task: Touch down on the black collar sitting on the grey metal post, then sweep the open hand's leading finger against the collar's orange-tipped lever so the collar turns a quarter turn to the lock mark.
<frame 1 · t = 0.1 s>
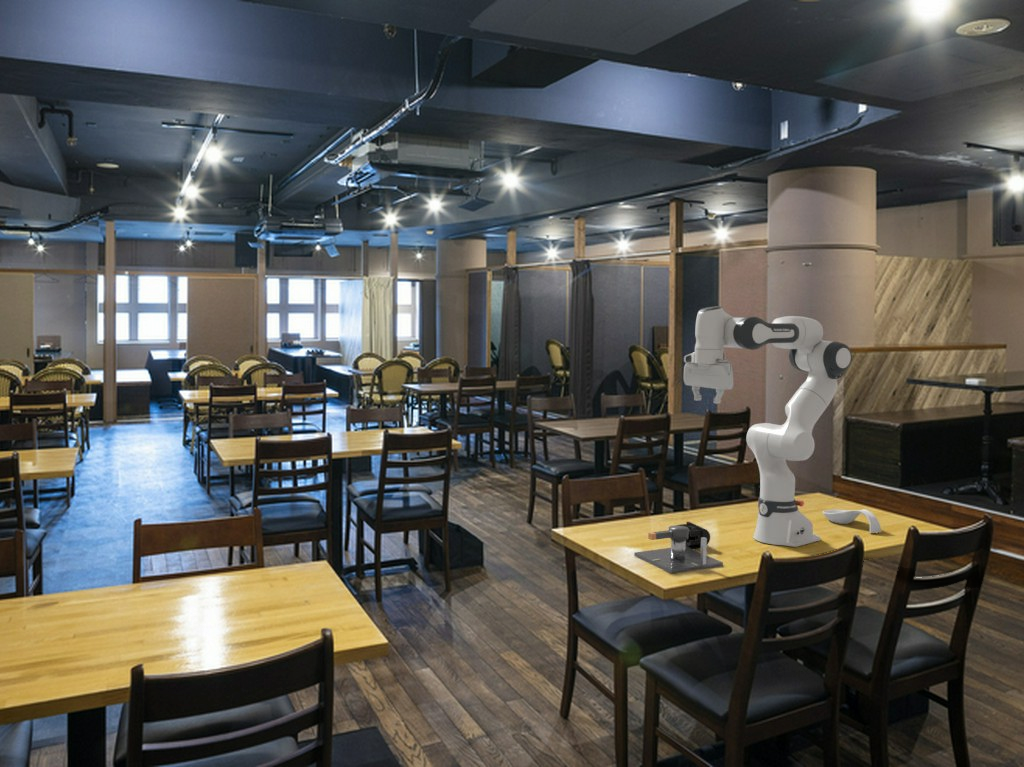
hand: (707, 401, 253), 48 cm above the table, fingers open, 8 cm apart
spoon rest: (851, 526, 291), on the table
end cap: (692, 546, 263), on the table
mount base: (677, 560, 246), on the table
collar: (668, 534, 243), point 9 cm above the table, hinge at 0.0°
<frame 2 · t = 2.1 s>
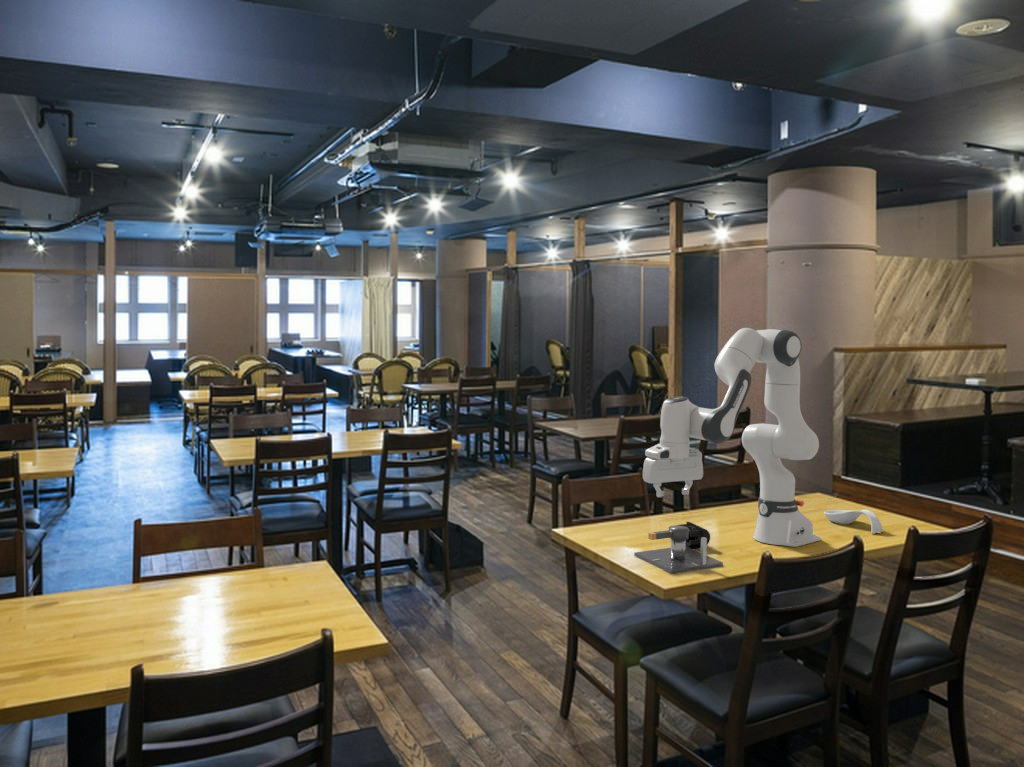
hand: (672, 495, 243), 20 cm above the table, fingers open, 8 cm apart
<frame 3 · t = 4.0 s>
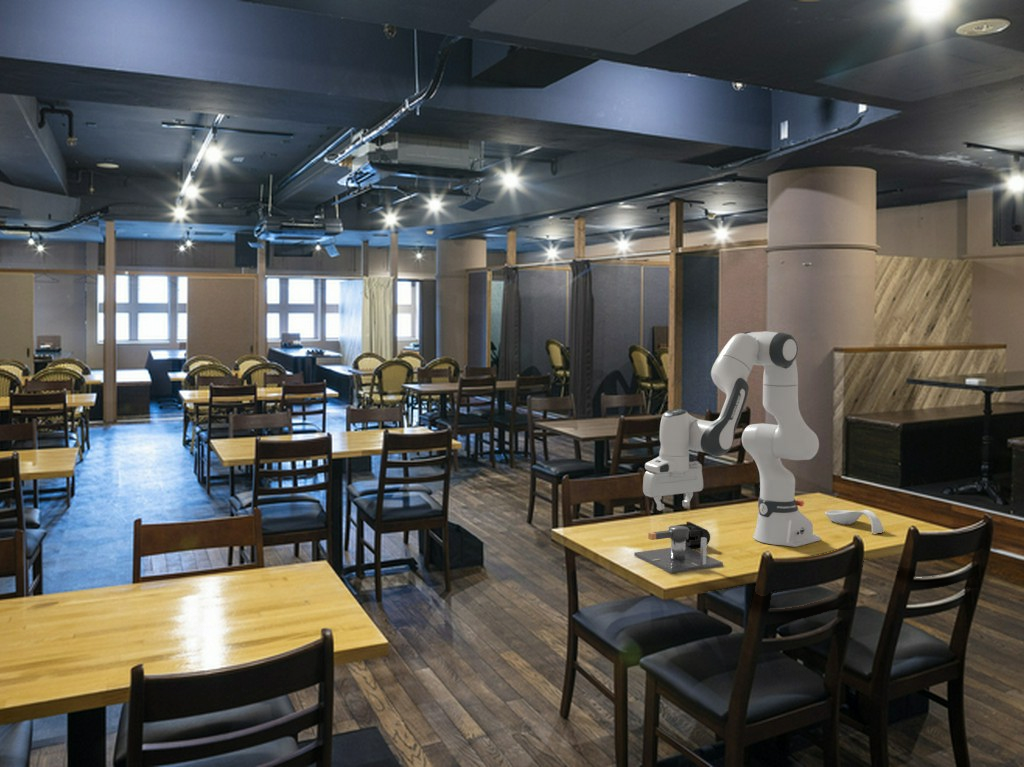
hand: (673, 508, 244), 17 cm above the table, fingers open, 8 cm apart
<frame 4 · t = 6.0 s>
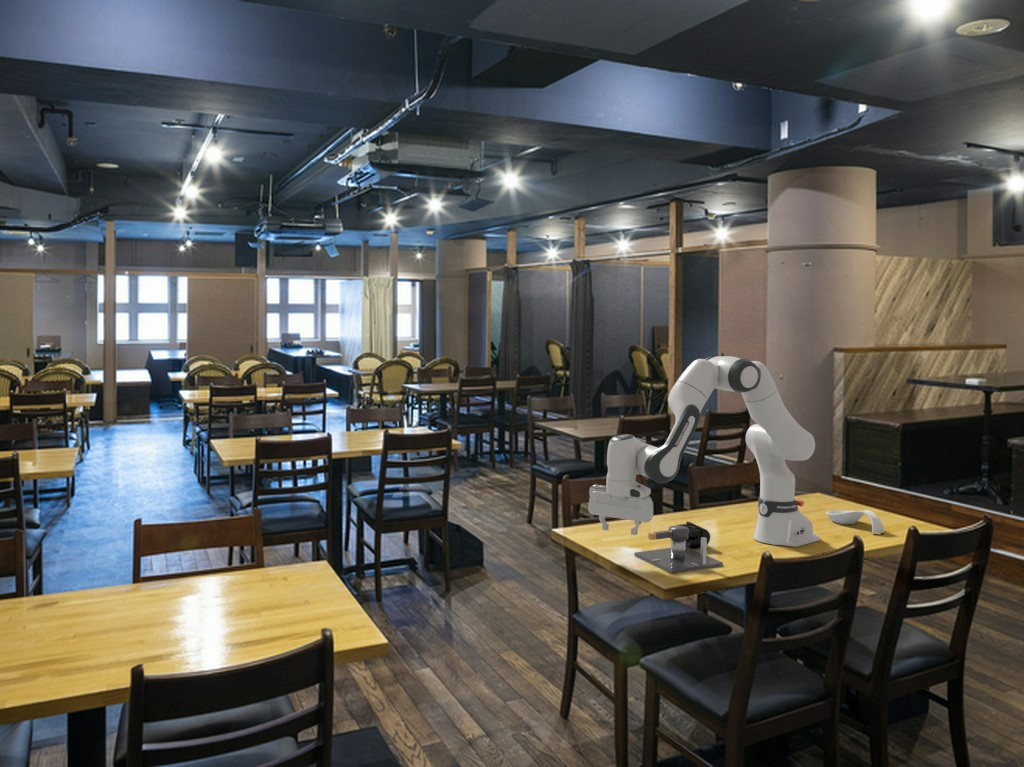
hand: (619, 532, 246), 8 cm above the table, fingers open, 8 cm apart
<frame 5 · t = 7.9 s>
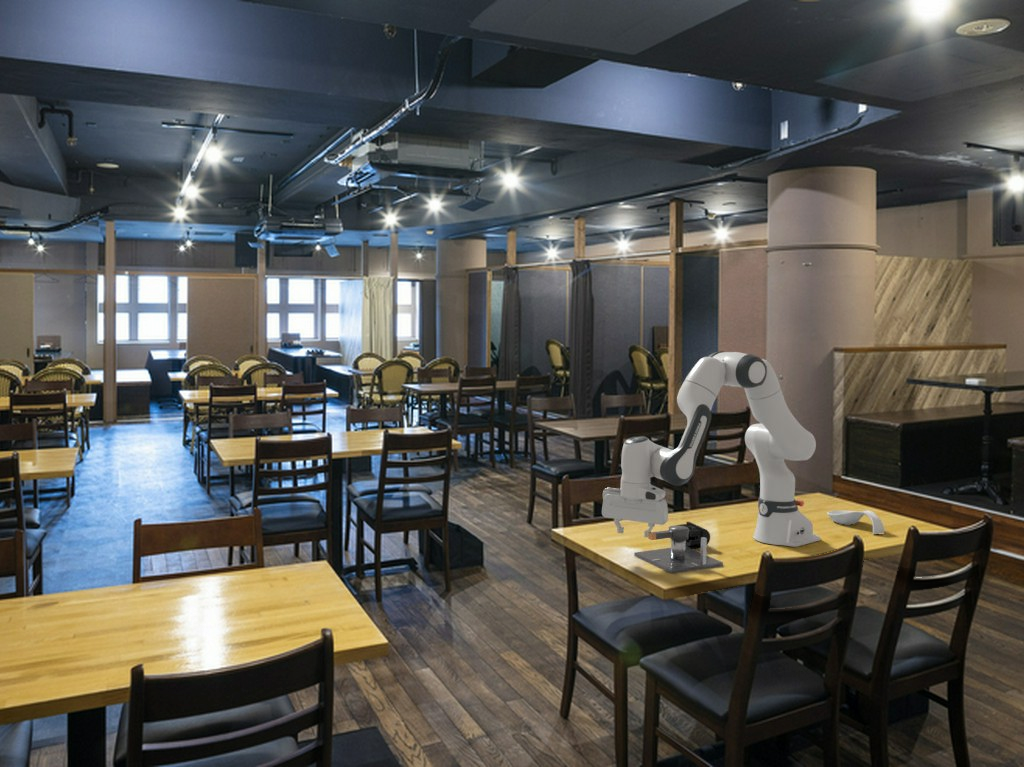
hand: (633, 534, 244), 8 cm above the table, fingers open, 7 cm apart
collar: (668, 534, 243), point 9 cm above the table, hinge at 0.2°, touching gripper
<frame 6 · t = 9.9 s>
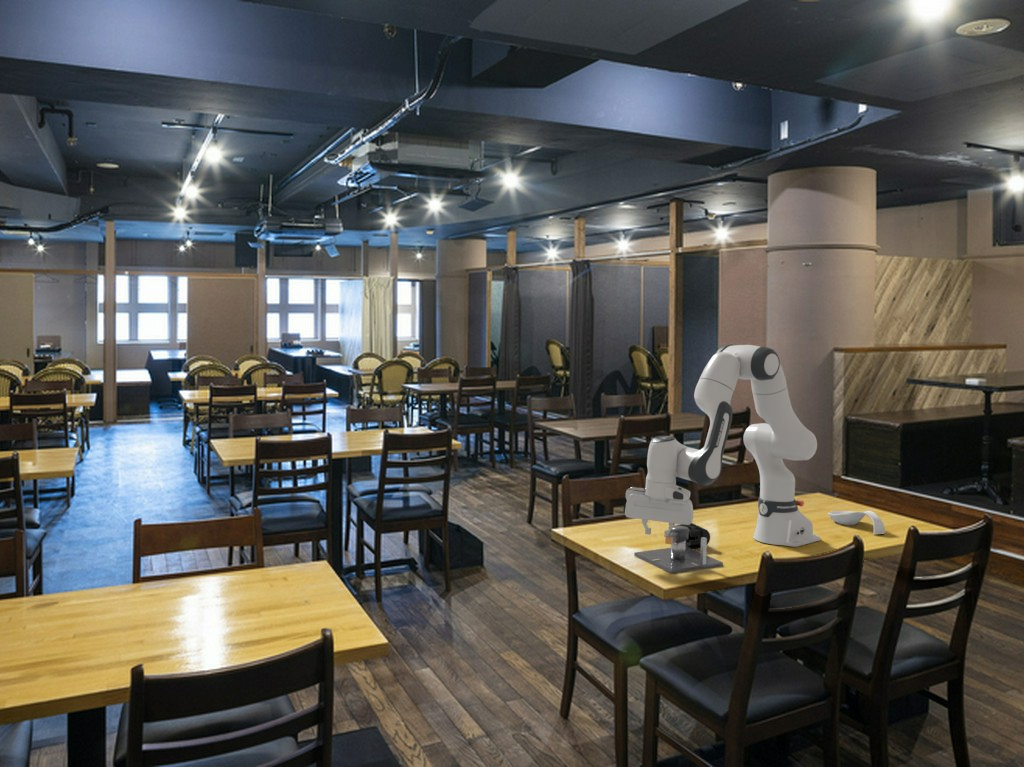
hand: (657, 535, 241), 9 cm above the table, fingers open, 4 cm apart
collar: (675, 535, 242), point 9 cm above the table, hinge at 36.8°, touching gripper
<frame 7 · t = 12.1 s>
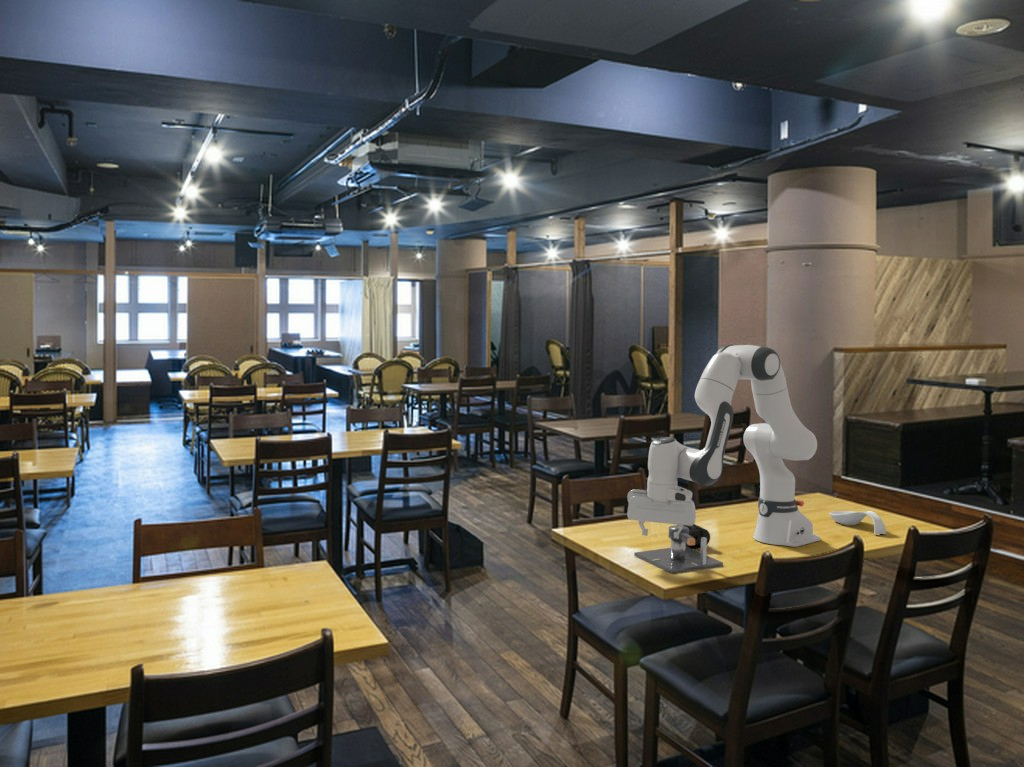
hand: (660, 536, 241), 8 cm above the table, fingers open, 8 cm apart
collar: (683, 536, 241), point 9 cm above the table, hinge at 74.9°
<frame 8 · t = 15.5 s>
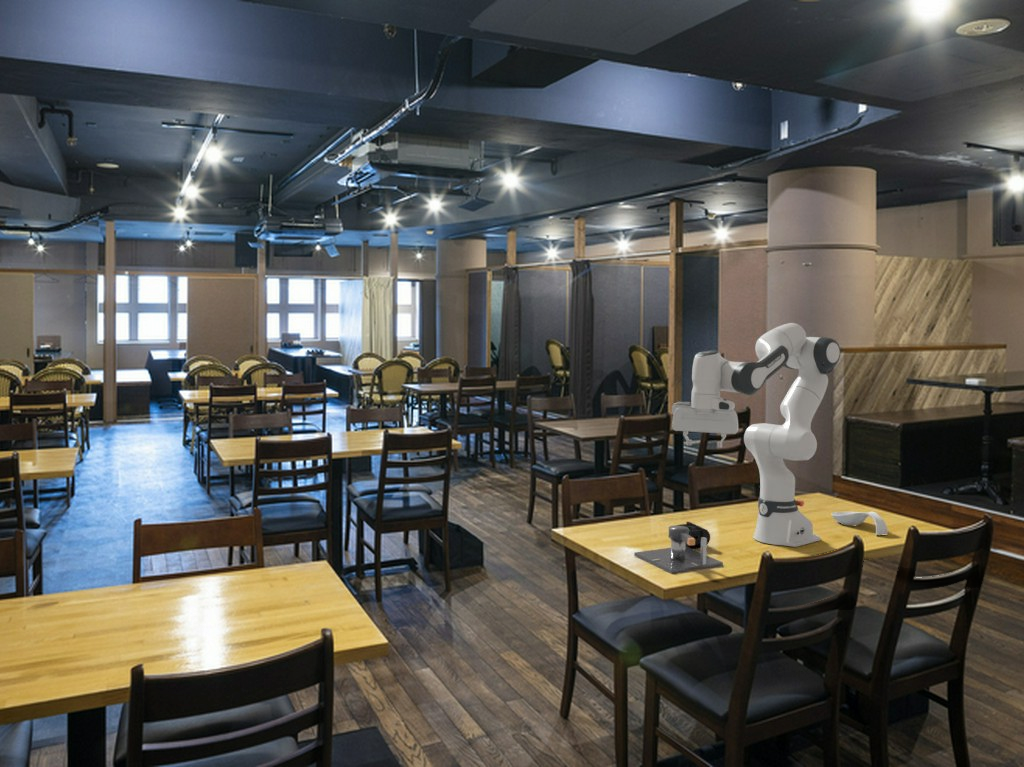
hand: (704, 446, 252), 34 cm above the table, fingers open, 8 cm apart
at the end: collar at +75° (first picture: +0°) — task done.
